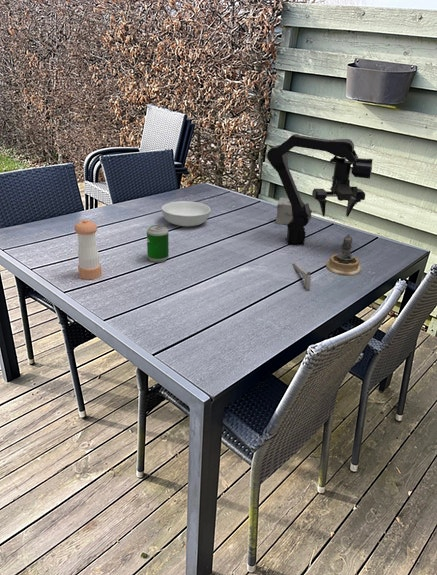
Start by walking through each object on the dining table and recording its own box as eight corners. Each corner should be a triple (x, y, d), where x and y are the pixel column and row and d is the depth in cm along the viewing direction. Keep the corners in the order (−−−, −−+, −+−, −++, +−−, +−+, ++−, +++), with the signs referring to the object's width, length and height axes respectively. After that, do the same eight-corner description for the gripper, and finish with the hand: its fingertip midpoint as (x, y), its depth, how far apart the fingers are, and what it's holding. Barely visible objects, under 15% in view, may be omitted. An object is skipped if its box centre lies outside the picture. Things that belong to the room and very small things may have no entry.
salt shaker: (338, 260, 174) (344, 229, 168) (354, 265, 171) (360, 233, 165) (332, 265, 169) (337, 234, 164) (348, 270, 166) (354, 238, 161)
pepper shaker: (81, 281, 153) (76, 224, 145) (76, 272, 159) (70, 217, 150) (104, 277, 157) (99, 222, 148) (98, 268, 162) (93, 215, 154)
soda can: (172, 257, 173) (172, 226, 168) (161, 265, 167) (161, 232, 162) (154, 253, 176) (154, 222, 170) (143, 260, 170) (142, 228, 164)
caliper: (309, 291, 154) (312, 273, 151) (306, 291, 154) (308, 273, 151) (295, 265, 172) (297, 249, 169) (292, 265, 172) (294, 248, 169)
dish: (331, 275, 165) (333, 266, 163) (322, 261, 175) (323, 252, 174) (365, 275, 166) (367, 266, 164) (353, 261, 176) (355, 252, 175)
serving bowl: (209, 232, 198) (210, 216, 195) (159, 230, 198) (158, 214, 194) (210, 216, 216) (211, 201, 213) (164, 214, 216) (164, 199, 213)
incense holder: (274, 224, 209) (277, 201, 205) (277, 218, 217) (279, 196, 212) (297, 227, 207) (300, 204, 203) (299, 221, 215) (302, 199, 210)
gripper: (322, 180, 166) (316, 223, 173) (374, 181, 168) (366, 223, 175) (314, 173, 176) (309, 213, 183) (363, 173, 178) (356, 213, 185)
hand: (335, 216), depth 181 cm, fingers open, 9 cm apart
